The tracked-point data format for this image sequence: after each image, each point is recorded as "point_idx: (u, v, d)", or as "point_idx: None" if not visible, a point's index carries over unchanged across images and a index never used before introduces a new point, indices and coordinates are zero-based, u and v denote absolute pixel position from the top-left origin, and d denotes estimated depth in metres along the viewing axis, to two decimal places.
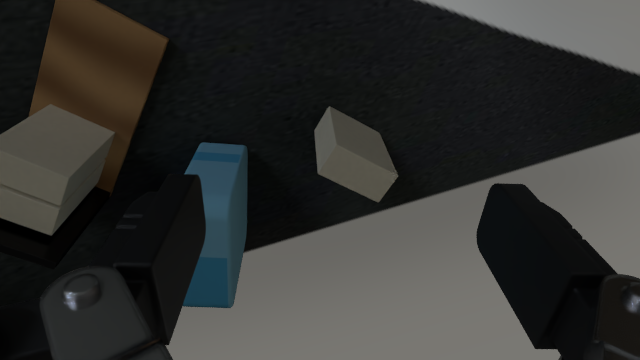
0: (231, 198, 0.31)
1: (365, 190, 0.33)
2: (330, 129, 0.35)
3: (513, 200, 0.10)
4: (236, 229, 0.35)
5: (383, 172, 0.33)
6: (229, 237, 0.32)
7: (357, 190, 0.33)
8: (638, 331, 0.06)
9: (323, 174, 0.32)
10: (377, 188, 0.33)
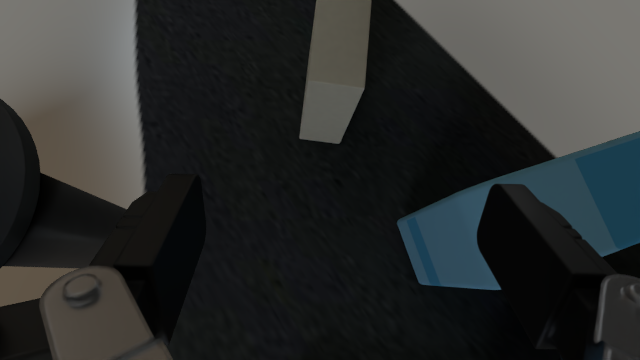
0: (458, 193, 0.18)
1: (360, 14, 0.21)
2: (309, 111, 0.24)
3: (513, 200, 0.10)
4: None
5: (321, 3, 0.21)
6: (530, 168, 0.17)
7: (365, 25, 0.21)
8: (638, 331, 0.06)
9: (361, 80, 0.21)
10: (349, 1, 0.22)
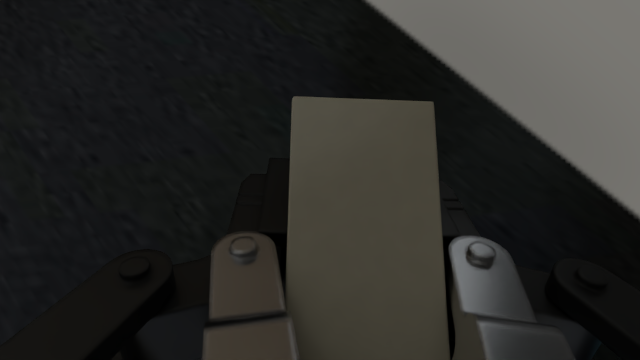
0: None
1: (413, 176, 0.08)
2: None
3: None
4: None
5: (304, 157, 0.08)
6: None
7: (431, 206, 0.08)
8: (464, 280, 0.07)
9: None
10: (379, 140, 0.08)
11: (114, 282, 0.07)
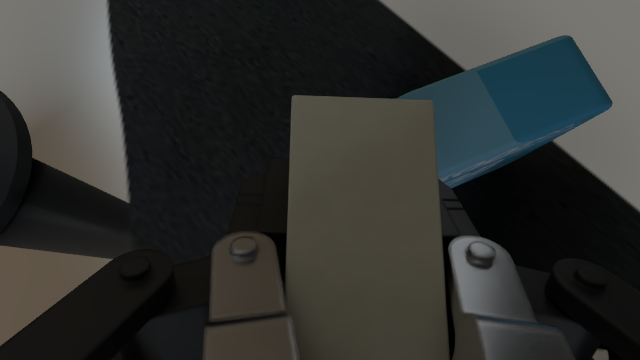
0: None
1: (413, 175, 0.08)
2: None
3: None
4: None
5: (304, 156, 0.08)
6: (438, 82, 0.20)
7: (430, 205, 0.08)
8: (463, 280, 0.07)
9: None
10: (379, 139, 0.08)
11: (114, 282, 0.07)
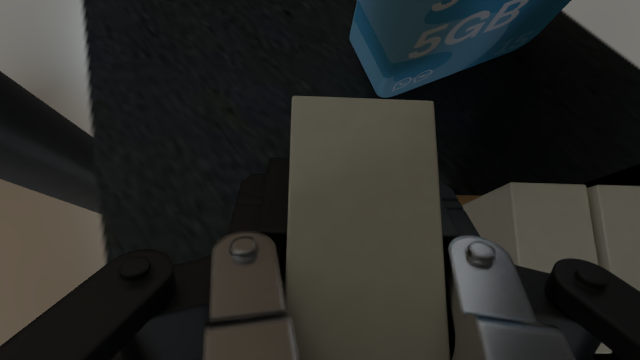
0: None
1: (413, 176, 0.08)
2: None
3: None
4: None
5: (304, 157, 0.08)
6: None
7: (431, 205, 0.08)
8: (464, 280, 0.07)
9: None
10: (379, 139, 0.08)
11: (114, 282, 0.07)
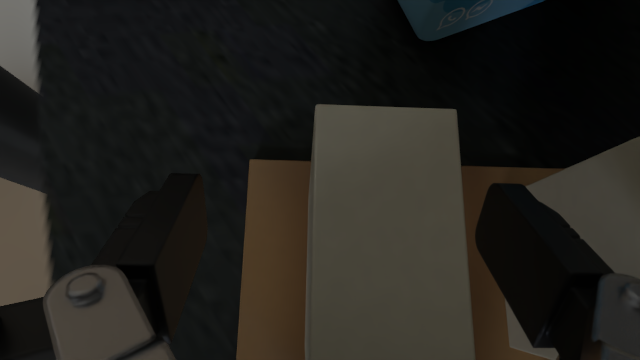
0: None
1: (437, 184, 0.08)
2: None
3: (511, 199, 0.10)
4: None
5: (328, 165, 0.08)
6: None
7: (455, 214, 0.08)
8: (635, 330, 0.06)
9: None
10: (403, 148, 0.08)
11: None
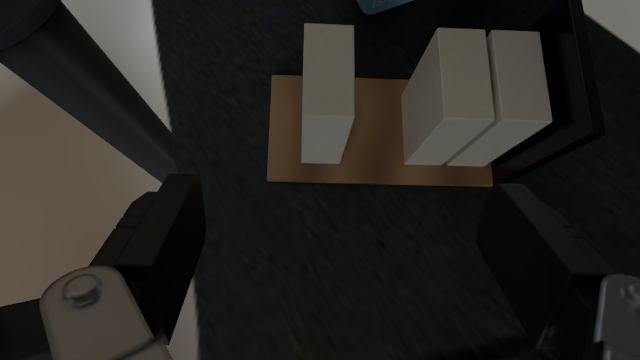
0: None
1: (345, 49, 0.23)
2: (308, 140, 0.26)
3: (513, 200, 0.10)
4: None
5: (308, 42, 0.23)
6: None
7: (351, 58, 0.23)
8: (638, 331, 0.06)
9: (351, 109, 0.23)
10: (334, 37, 0.24)
11: None
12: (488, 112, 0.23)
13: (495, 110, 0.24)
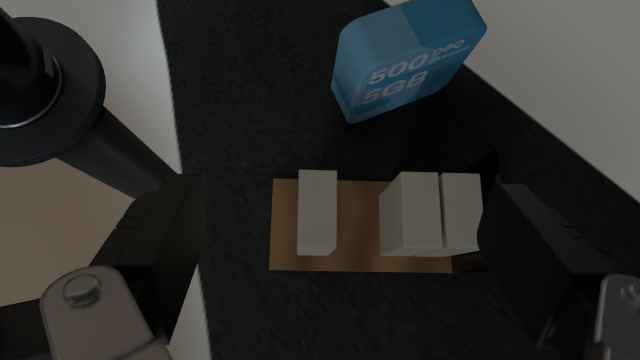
0: (341, 32, 0.33)
1: (330, 191, 0.31)
2: (301, 251, 0.33)
3: (513, 200, 0.10)
4: None
5: (302, 186, 0.31)
6: (375, 12, 0.32)
7: (334, 198, 0.31)
8: (638, 331, 0.06)
9: (334, 241, 0.30)
10: (321, 181, 0.31)
11: None
12: (437, 242, 0.30)
13: (444, 237, 0.31)
